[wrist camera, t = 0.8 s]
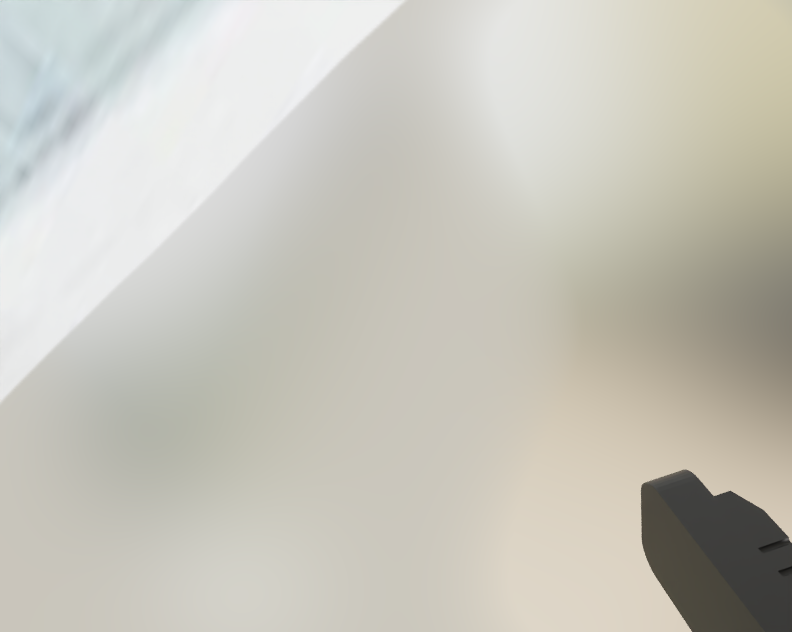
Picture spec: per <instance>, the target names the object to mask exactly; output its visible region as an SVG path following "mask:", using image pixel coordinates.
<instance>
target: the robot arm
mask: <svg viewBox="0 0 792 632" xmlns="http://www.w3.org/2000/svg"><path fill="white" fill-rule="evenodd" d="M641 515H642V544H643V548H644V552H645V555H646V558H647V560H648V562H649V565H650V567H651V569H652V571H653V573H654V575H655V576H656V578H657V579H658V581H659V582H660V584H661V585H662V587H663V588H664V590H665V591H666V593H667V594H668V596H669V597H670V599H671V600H672V602H673V603H674V605H675V606H676V608H677V609H678V611H679V612H680V614H681V615H682V617H683V618H684V620H685V621H686V623H687V624H688V626H689V628H690V629H691V631H692V632H792V543H791V542H790V541H789V537H788V536H787V535H786V534H785V533H784V532H783V531H782V530H781V529H780V528H779V526H778V525H777V524H776V523H775V522H774V521H773V520H772V519H771V518H770V517H769V516H768V514H767V513H766V512H765V511H764V510H762V509H761V508H759V507H757V506H755V505H754V504H752V503H750V502H749V501H747V500H745V499H743V498H742V497H740V496H738V495H737V494H735V493H733V492H731V491H729V492H726V493H723V494H720V495H717V496H713V495H712V494H711V493H710V492H709V491H708V489H707V488H706V487H705V486H704V485H703V483H702V482H701V481H700V480H699V479H698V478H697V477H696V476H695V475H694V474H693V473H692V472H690V471H688V470H682V471H679V472H676V473H673V474H670V475H667V476H664V477H661V478H658V479H655V480H652V481H649V482H646V483H644V484H643V485H642V488H641Z"/></svg>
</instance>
